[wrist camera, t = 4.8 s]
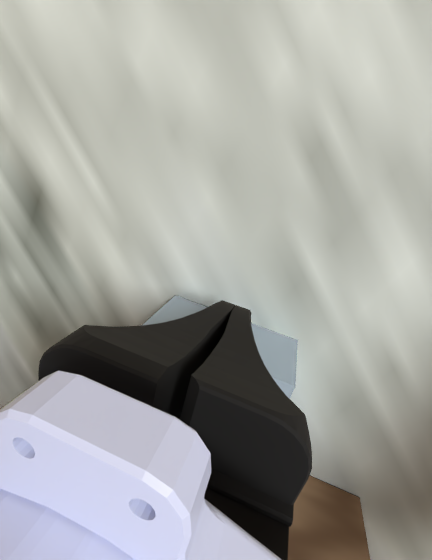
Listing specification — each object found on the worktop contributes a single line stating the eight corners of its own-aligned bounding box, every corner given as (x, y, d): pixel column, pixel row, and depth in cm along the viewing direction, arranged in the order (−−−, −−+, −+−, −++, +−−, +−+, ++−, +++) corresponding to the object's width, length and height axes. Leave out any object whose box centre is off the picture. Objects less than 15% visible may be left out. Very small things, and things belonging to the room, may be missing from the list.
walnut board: (359, 497, 17) (392, 689, 11) (339, 525, 18) (358, 713, 12) (74, 371, 20) (-29, 458, 14) (73, 402, 22) (-22, 494, 15)
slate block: (297, 336, 15) (295, 386, 11) (254, 437, 18) (241, 502, 15) (178, 292, 16) (141, 325, 13) (156, 394, 19) (122, 443, 16)
